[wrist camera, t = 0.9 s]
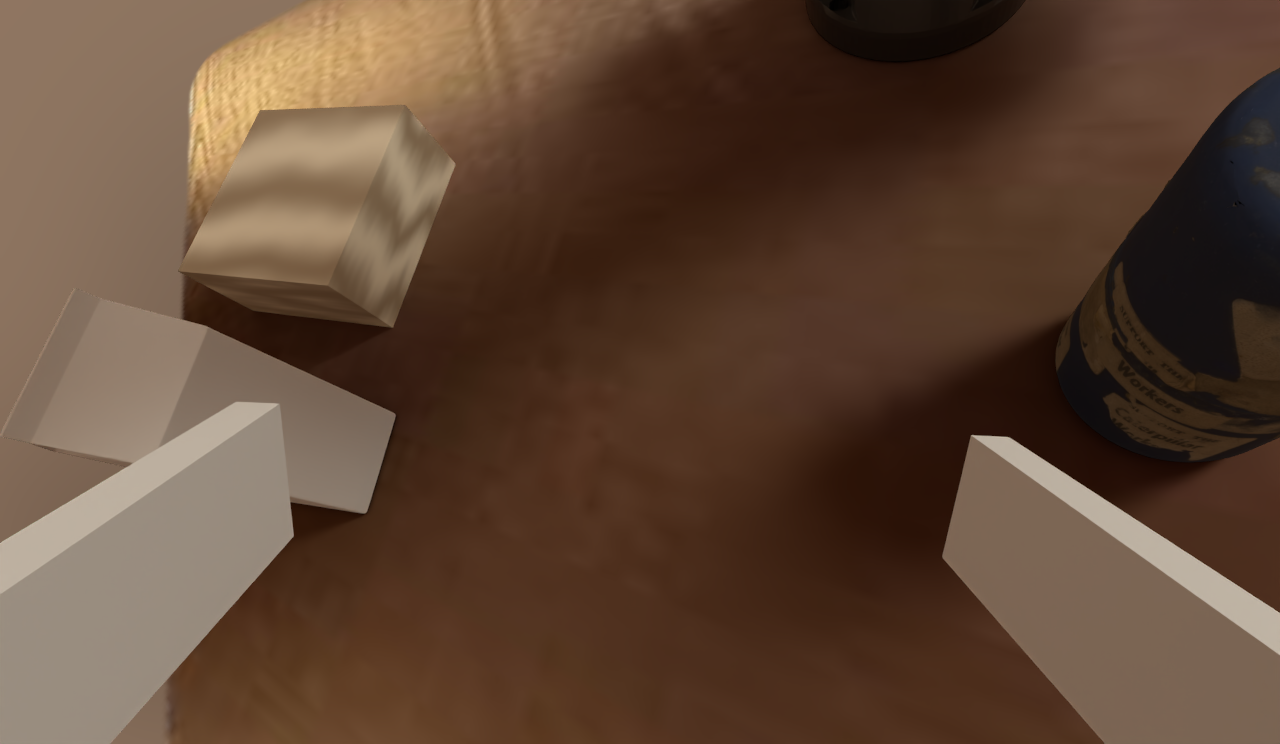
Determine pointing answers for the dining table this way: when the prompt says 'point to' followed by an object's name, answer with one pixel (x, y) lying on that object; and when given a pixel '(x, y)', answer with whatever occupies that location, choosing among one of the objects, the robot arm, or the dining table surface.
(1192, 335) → the canister
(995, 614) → the robot arm
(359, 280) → the block
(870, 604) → the dining table surface
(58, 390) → the milk carton
